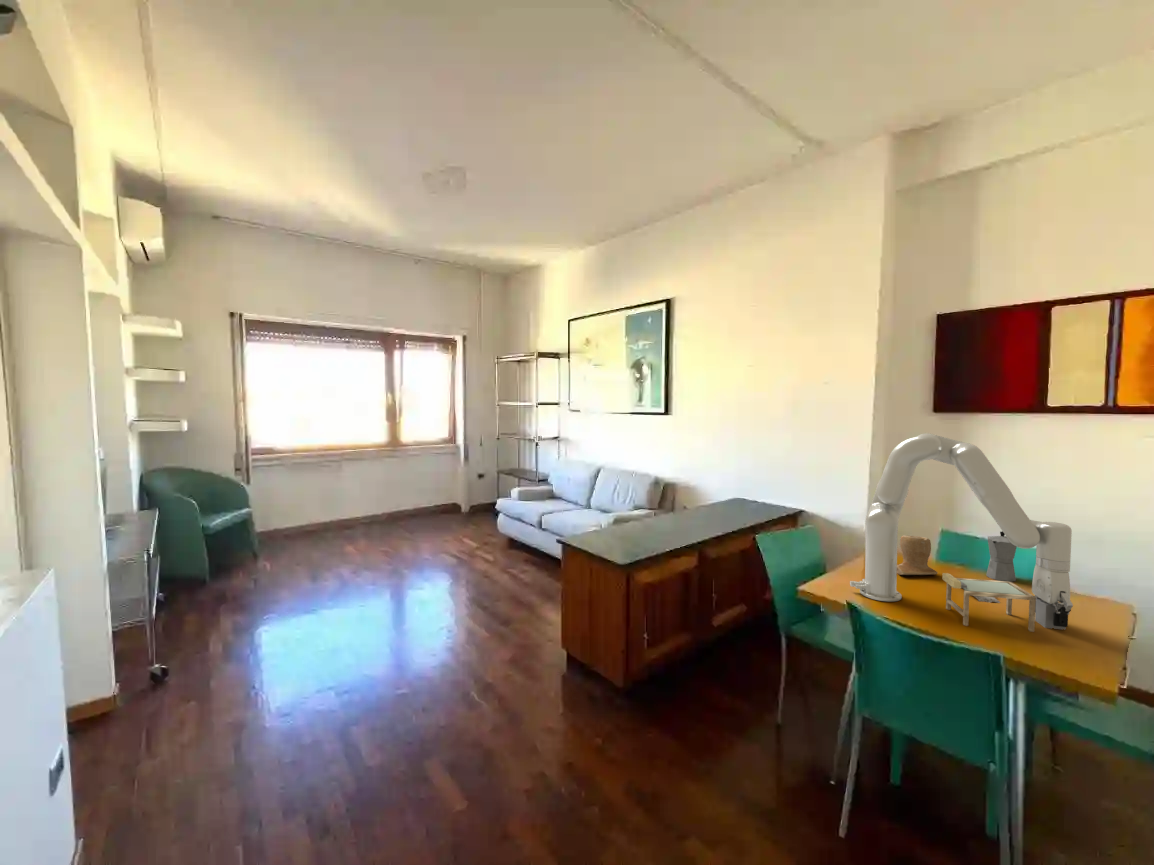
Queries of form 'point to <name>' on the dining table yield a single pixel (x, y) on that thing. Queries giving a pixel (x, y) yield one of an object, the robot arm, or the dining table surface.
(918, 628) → the dining table surface
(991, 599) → the stone fragment
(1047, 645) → the dining table surface
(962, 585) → the trapdoor
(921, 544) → the stone cup
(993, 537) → the coffeepot
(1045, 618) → the granite block
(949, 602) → the trapdoor frame
